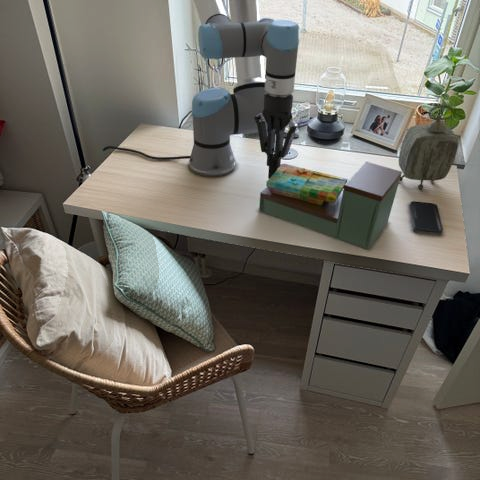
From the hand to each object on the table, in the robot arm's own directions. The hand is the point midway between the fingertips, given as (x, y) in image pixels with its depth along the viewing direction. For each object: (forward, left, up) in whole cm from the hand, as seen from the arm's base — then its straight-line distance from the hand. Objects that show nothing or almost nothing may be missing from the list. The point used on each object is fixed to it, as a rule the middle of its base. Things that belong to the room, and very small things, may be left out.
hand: (272, 177), depth 136 cm
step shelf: (+17, 0, -8) cm, 19 cm away
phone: (+43, +16, -8) cm, 46 cm away
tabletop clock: (+35, +34, -8) cm, 49 cm away
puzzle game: (+11, 0, -2) cm, 11 cm away
